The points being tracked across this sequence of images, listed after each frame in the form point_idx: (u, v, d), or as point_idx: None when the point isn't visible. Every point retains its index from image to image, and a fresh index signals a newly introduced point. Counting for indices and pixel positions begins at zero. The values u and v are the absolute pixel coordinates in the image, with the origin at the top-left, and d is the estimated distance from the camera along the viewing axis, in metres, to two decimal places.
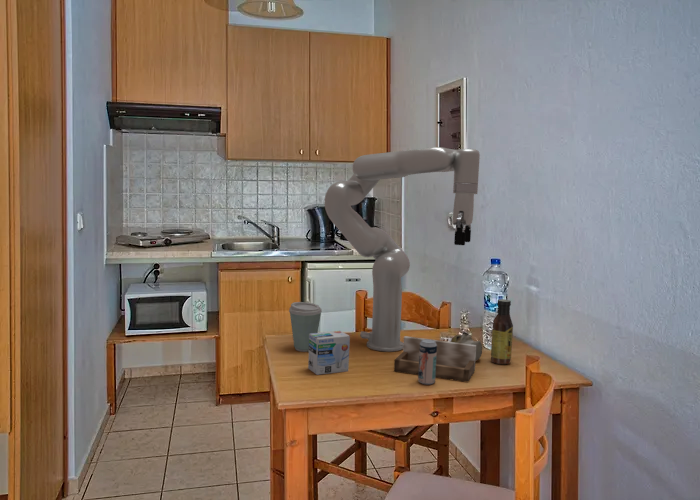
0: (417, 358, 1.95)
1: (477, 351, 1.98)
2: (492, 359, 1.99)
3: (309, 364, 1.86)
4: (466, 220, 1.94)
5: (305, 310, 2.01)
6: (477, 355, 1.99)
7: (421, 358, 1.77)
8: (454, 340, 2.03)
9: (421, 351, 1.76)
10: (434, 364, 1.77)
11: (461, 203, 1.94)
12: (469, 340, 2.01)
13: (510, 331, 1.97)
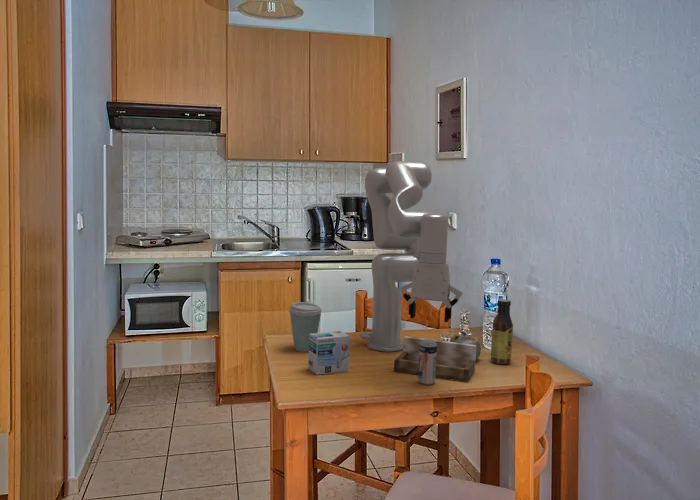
0: (417, 358, 1.95)
1: None
2: (492, 359, 1.99)
3: (309, 364, 1.86)
4: None
5: (305, 310, 2.01)
6: None
7: (421, 358, 1.77)
8: (453, 340, 2.03)
9: (421, 351, 1.76)
10: (434, 364, 1.77)
11: (449, 275, 1.73)
12: (467, 340, 2.01)
13: (510, 331, 1.97)
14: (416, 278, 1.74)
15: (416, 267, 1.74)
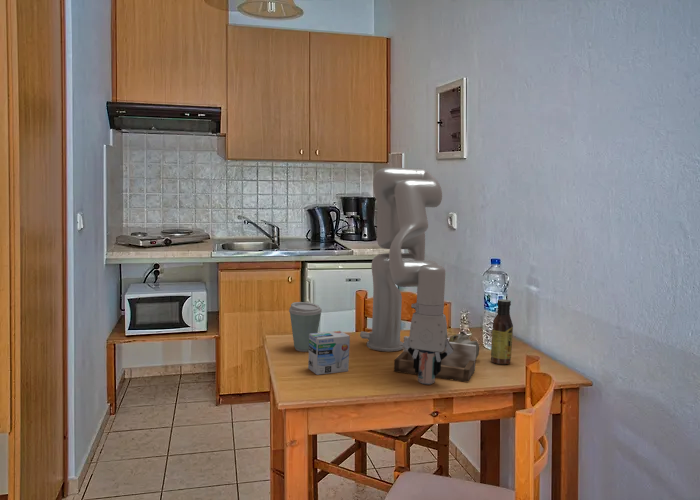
0: None
1: None
2: (492, 359, 1.99)
3: (309, 364, 1.86)
4: None
5: (305, 310, 2.01)
6: None
7: (421, 358, 1.77)
8: (451, 340, 2.03)
9: (421, 351, 1.76)
10: None
11: (446, 326, 1.75)
12: (466, 340, 2.01)
13: (510, 331, 1.97)
14: (414, 329, 1.76)
15: (414, 318, 1.76)
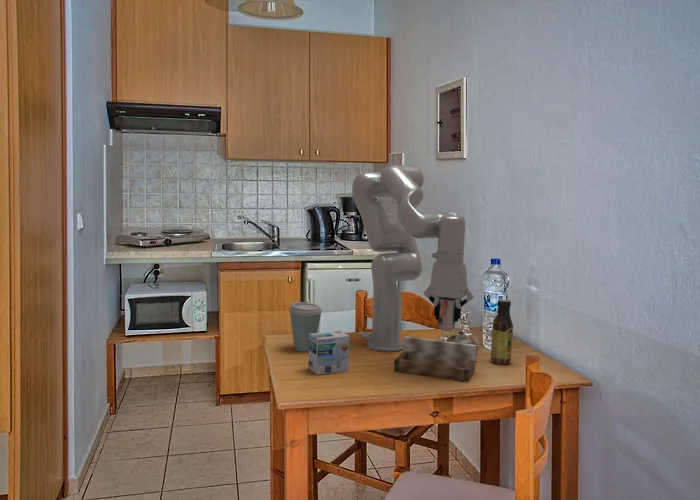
0: (417, 358, 1.95)
1: None
2: (492, 359, 1.99)
3: (309, 364, 1.86)
4: None
5: (305, 310, 2.01)
6: None
7: (441, 305, 1.83)
8: (449, 339, 2.04)
9: (441, 298, 1.83)
10: (454, 311, 1.83)
11: (466, 274, 1.82)
12: (464, 340, 2.01)
13: (510, 331, 1.97)
14: (435, 277, 1.82)
15: (435, 266, 1.82)
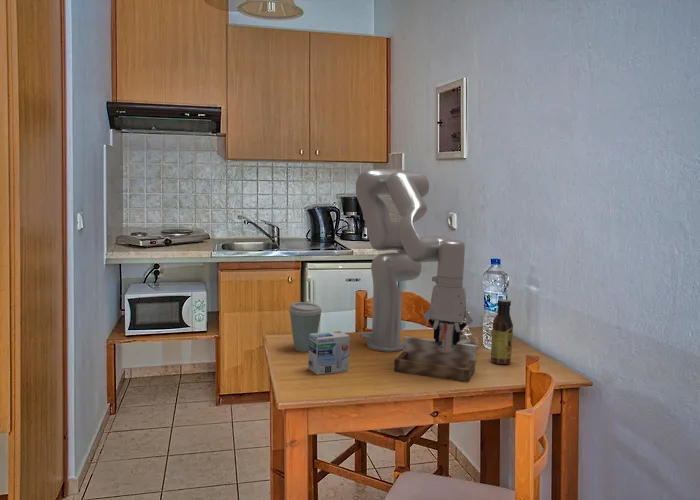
0: (417, 358, 1.95)
1: None
2: (492, 359, 1.99)
3: (309, 364, 1.86)
4: None
5: (305, 310, 2.01)
6: None
7: (441, 328, 1.86)
8: None
9: (441, 322, 1.85)
10: (453, 334, 1.86)
11: (465, 298, 1.84)
12: (463, 340, 2.01)
13: (510, 331, 1.97)
14: (434, 301, 1.85)
15: (434, 290, 1.85)
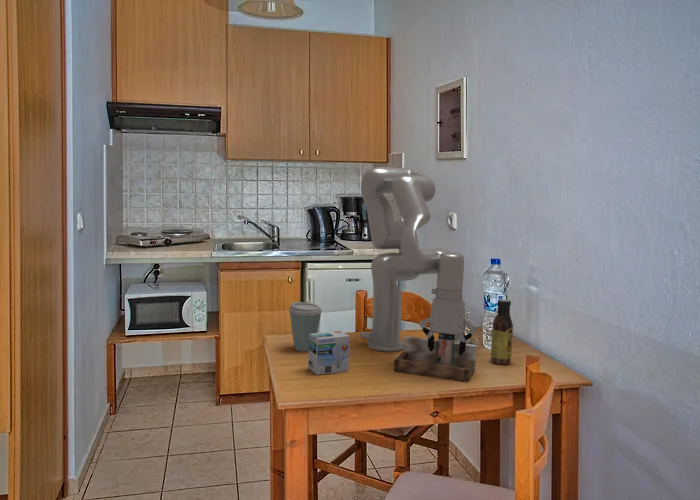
0: (417, 358, 1.95)
1: None
2: (492, 359, 1.99)
3: (309, 364, 1.86)
4: None
5: (305, 310, 2.01)
6: None
7: (440, 344, 1.87)
8: None
9: (440, 338, 1.87)
10: (452, 350, 1.87)
11: None
12: None
13: (510, 331, 1.97)
14: (434, 313, 1.85)
15: (434, 303, 1.85)
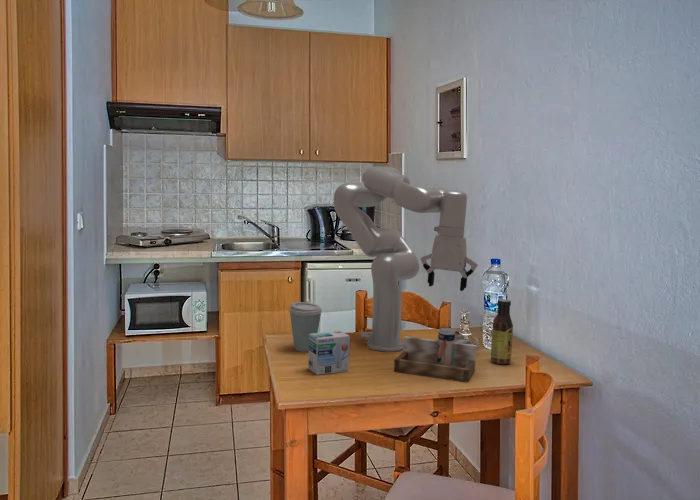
0: (417, 358, 1.95)
1: None
2: (492, 359, 1.99)
3: (309, 364, 1.86)
4: None
5: (305, 310, 2.01)
6: None
7: (440, 345, 1.86)
8: None
9: (440, 339, 1.86)
10: (452, 351, 1.86)
11: (465, 248, 1.89)
12: (460, 339, 2.01)
13: (510, 331, 1.97)
14: (435, 249, 1.90)
15: (436, 239, 1.90)
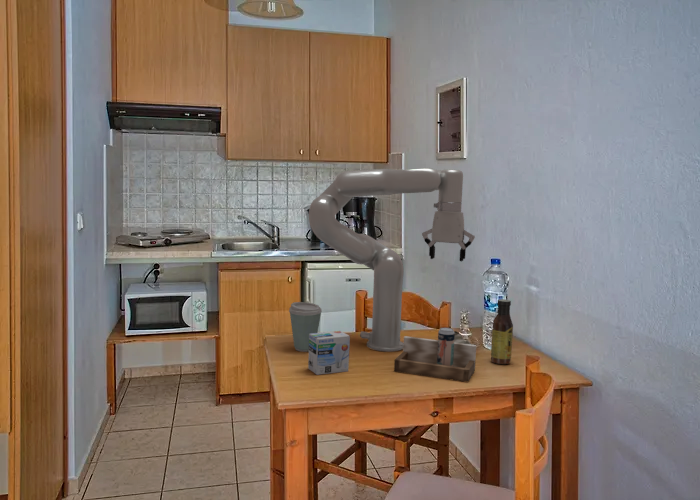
0: (417, 358, 1.95)
1: None
2: (492, 359, 1.99)
3: (309, 364, 1.86)
4: None
5: (305, 310, 2.01)
6: None
7: (440, 345, 1.86)
8: None
9: (440, 339, 1.86)
10: (452, 351, 1.86)
11: (463, 221, 2.05)
12: (458, 339, 2.01)
13: (510, 331, 1.97)
14: (436, 224, 2.06)
15: (436, 215, 2.06)
